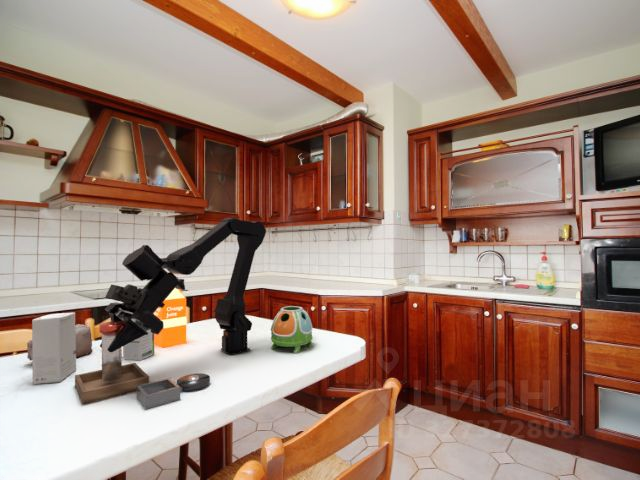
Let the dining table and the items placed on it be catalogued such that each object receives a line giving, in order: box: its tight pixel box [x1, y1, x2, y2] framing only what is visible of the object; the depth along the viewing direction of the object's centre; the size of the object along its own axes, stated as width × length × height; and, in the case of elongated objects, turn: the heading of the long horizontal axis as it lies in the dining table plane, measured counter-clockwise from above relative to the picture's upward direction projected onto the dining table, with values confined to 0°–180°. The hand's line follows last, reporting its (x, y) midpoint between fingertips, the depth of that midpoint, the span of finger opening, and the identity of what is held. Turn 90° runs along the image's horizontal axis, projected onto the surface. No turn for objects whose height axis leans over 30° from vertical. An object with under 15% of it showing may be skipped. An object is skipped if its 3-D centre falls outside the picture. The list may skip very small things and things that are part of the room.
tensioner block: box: [135, 372, 211, 410], centre depth 75 cm, size 15×9×2 cm, turn 131°
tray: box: [74, 362, 150, 406], centre depth 78 cm, size 12×12×2 cm
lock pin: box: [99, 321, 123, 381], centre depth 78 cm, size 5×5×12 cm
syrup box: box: [122, 313, 155, 361], centre depth 99 cm, size 6×6×14 cm
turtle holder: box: [270, 305, 314, 354], centre depth 110 cm, size 12×18×12 cm
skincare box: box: [31, 312, 77, 385], centre depth 84 cm, size 8×6×15 cm
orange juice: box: [154, 288, 187, 349], centre depth 113 cm, size 8×9×20 cm
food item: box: [26, 324, 93, 362], centre depth 98 cm, size 14×8×10 cm, turn 158°
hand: (105, 349), depth 77 cm, fingers closed on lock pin, 4 cm apart
